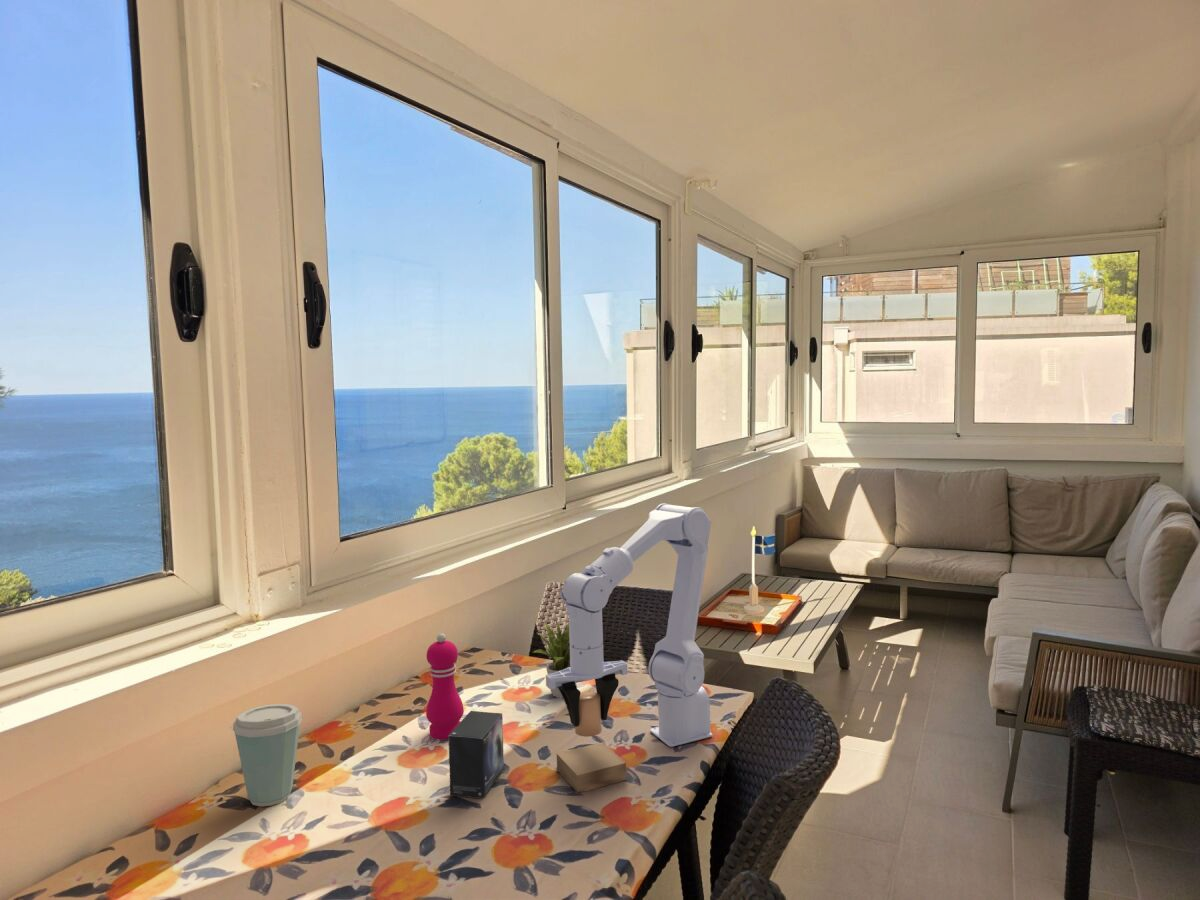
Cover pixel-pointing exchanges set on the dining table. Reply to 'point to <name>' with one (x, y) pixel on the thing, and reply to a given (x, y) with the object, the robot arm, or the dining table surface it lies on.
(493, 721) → the small box
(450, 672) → the pepper mill
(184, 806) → the dining table surface
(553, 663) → the house plant
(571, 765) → the tan square base block
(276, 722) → the disposable coffee cup
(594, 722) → the peach domed cylinder
